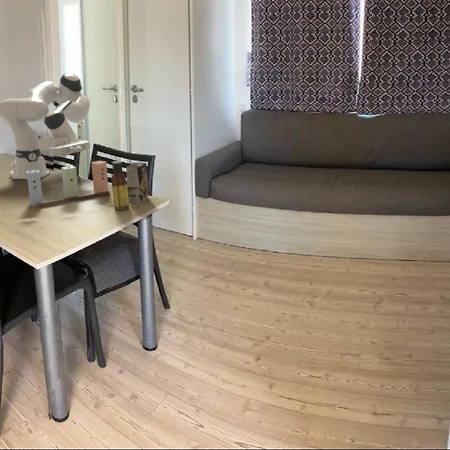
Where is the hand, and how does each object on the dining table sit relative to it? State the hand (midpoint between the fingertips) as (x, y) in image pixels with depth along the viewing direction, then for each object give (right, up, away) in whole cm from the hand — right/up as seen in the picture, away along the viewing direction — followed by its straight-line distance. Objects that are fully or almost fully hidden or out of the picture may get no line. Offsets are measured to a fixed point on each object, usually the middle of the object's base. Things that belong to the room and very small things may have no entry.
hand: (79, 149), depth 251 cm
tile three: (+11, -20, -3) cm, 23 cm away
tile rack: (-1, -24, -10) cm, 26 cm away
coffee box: (+29, -24, -11) cm, 39 cm away
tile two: (-13, -25, -19) cm, 34 cm away
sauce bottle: (+23, -28, -21) cm, 42 cm away
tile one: (0, -23, -12) cm, 26 cm away
